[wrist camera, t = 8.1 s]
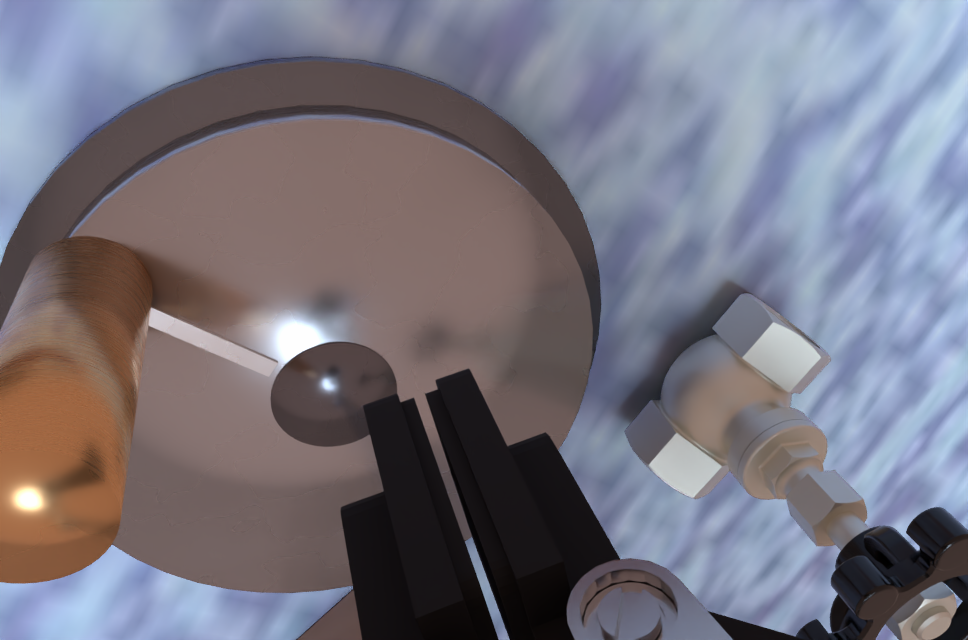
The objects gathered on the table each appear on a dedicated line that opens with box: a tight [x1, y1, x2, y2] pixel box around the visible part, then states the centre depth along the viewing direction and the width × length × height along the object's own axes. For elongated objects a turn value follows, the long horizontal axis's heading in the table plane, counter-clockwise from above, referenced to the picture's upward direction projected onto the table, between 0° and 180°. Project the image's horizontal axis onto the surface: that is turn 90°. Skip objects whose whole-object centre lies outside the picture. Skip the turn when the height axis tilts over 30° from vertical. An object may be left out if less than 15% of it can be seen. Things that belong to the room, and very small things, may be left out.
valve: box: [625, 293, 968, 640], centre depth 24 cm, size 7×7×12 cm
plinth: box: [0, 57, 601, 369], centre depth 24 cm, size 18×18×1 cm
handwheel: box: [0, 105, 593, 593], centre depth 20 cm, size 16×16×9 cm
